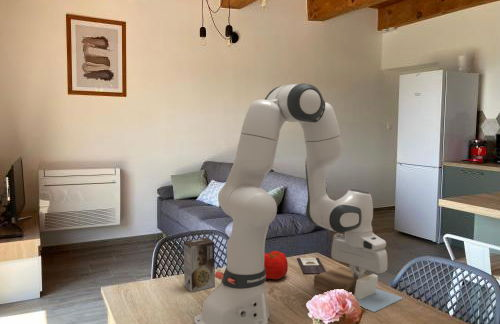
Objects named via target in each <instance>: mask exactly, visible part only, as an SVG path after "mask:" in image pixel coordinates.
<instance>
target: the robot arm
mask: <svg viewBox="0 0 500 324" xmlns="http://www.w3.org/2000/svg"><path fill="white" fill-rule="evenodd" d="M285 122H289V123H296V122H298V123H299V124H300V126H301V128H302V131H303V138H304V144H305V149H306V150H305V152H306V157H305V178H306V180H305V181H306V188H307V189H306V190H307V201H306V208H305V209H306V210H305V213H306V214H305V215H306V218H307V219H308V221H309V222H310V224H312V225H314V226H317V227H320V228H324V229H326V230H328V231H332V232H335V234H334V235H333V237H332V245H331V251H330V253H331V254H330V255H331V258H332V259H333V260H334V261H338V262H341V263H344V264H347V265H349V270H351V271H352V278H355V279H361V278H363V275H365V272H366V270H367V271H369V272H373V273H374V274H375V273H376V274H383V273H384V272H386V271H387V270H388V252H387V250H386V249H385V248H386V247H387V242H386V240H385V239H383V238H381V237H379V236H378V235H376V234H375V232H373V226H372V222H373V218H374V203H373V198H372V195H371V193H370V192H368V191H365V190H361V189H360V190H359V189H353V188H351V189H348V190H347V192H346V193H345V194H344V195H343V196H342V197H340V198H338V199H336V200H334V199H331V198H330V197H329V195H328V194H327V187H326V175H325V174H326V171H327V169H328V167H329V166H331V165H333V164H334V163H336V162H337V161H338V160H339V159H340V157H341V155H343V154H342V153H343V140H342V135H341V129H340V126H339V122H338V119H337V116H336V113H335V110H334V107H333V106H332V105H331V104H330V103H329V102H326V101H325V100H324V97H323V95H322V93H321V91H320V90H319V89H318V88H317V87H316V86H314V85H313V84H309V83H303V82H301V83H289V84H285V85H282V86H281V85H280V86H276V87H275V88H272V90H270V91H269V92H268V93H267V94H266V96H265V98H264V99H257V100H255V101H253V102H251V104H250V105H249V107H248V109H247V112H246V114H245V116H244V120H243V124H242V127H241V130H240V134H239V135H240V136H239V140H238V143H237V149H236V154H235V158H234V161H233V164H232V165H231V166H232V167H231V169H230V172H229V174H228V176H227V177H226V181H225V184H224V185H222V187H221V188H220V189H219V192H218V195H217V201H218V204H219V206H220V208H221V210H222V211H223V212H224V214H226V215H227V216H229V217H231V219H232V229H231V233H230V236H229V238H228V240H227V242H226V267H225V269H224V271H223V272H221V271H220V270H217V271H215V279H218V280H221V282H220V283H219V284H218V285H217V286H216V288H215V289H213V291H211V293H210V294H209V295H208V296H207V297H206V298H204V300H203V304H202V309H201V313H198V314H197V315H195V316H194V317H193V318H194V319H193V322H194V323H193V324H269V319H270V317H271V315H270V314H271V313H270V310H269V306H268V302H267V296H266V287H265V286H266V285H265V282H266V280H267V279H266V269H265V267H264V253H265V249H266V248H265V247H266V238H267V234H268V231H269V227H270V225H271V224H272V223H273V221H274V220H275V219H276V216H277V212H278V205H277V202H276V200H275V198H274V197H273V196H272V195H271V194H270V193H269V192H267V190H265V189H263V188H261V187H262V185H263V183H264V180H265V178H266V176H267V175H268V173H270V172H271V170H272V169H273V167H274V163H275V158H276V154H277V153H276V152H277V147H278V142H279V139H280V131H281V129H282V127H283V125H284V124H285ZM343 233H344V234H343ZM357 268H358V270H357ZM358 271H359V272H358Z"/></svg>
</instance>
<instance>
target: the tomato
mask: <svg viewBox="0 0 500 324" xmlns="http://www.w3.org/2000/svg"><path fill="white" fill-rule="evenodd" d="M264 267H265V269H266V280H278V279H281V278H283V277H285V276H286V275H287V273H288V270H289V269H288V268H289V265H288V259H287V257H286V254H284V252H280V251H278V250H273V251H270V252H268V253H267V252H264Z"/></svg>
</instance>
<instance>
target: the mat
mask: <svg viewBox="0 0 500 324" xmlns="http://www.w3.org/2000/svg"><path fill="white" fill-rule="evenodd" d="M353 294H354V295H355V293H353ZM356 299H357V298H356ZM403 299H404V297H402V296H399V295H396V294H394V293H391V292H388V291H385V290H382V289H380V288H377V287H376V293H374V294H372V295H369V296H367V297H365V298H362V299H360V300H359V299H357V301H358V302H359V304H360V305H361V306H362V307H363V308H362V309H364V308H365V309H364V310H366V309H368V310H367V311H369V310H370V311H369V312H371V311H372V312H371V313H377V312H379V311H381V310H382V309H385V308H387V307H389V306H391V305H394V304H396V303H397V302H400V301H402V300H403ZM378 310H379V311H378ZM376 311H377V312H376Z"/></svg>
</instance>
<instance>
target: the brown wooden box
mask: <svg viewBox="0 0 500 324" xmlns="http://www.w3.org/2000/svg"><path fill="white" fill-rule="evenodd" d="M313 275H314V276H313V287H314V288H315V289H316V288H317V289H319V290H321V291H324V292H326V291H330V290H334V289H344V290H346V291H348V292H352V294H355V288H356V281H357V280H358V279H355V278H352V271H351V269H348V268H344V267H343V266H339V267H337V268H333V269H330V270H326V272H323V273H320V274H313ZM366 276H367V275H366V274H363V277H366Z"/></svg>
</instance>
